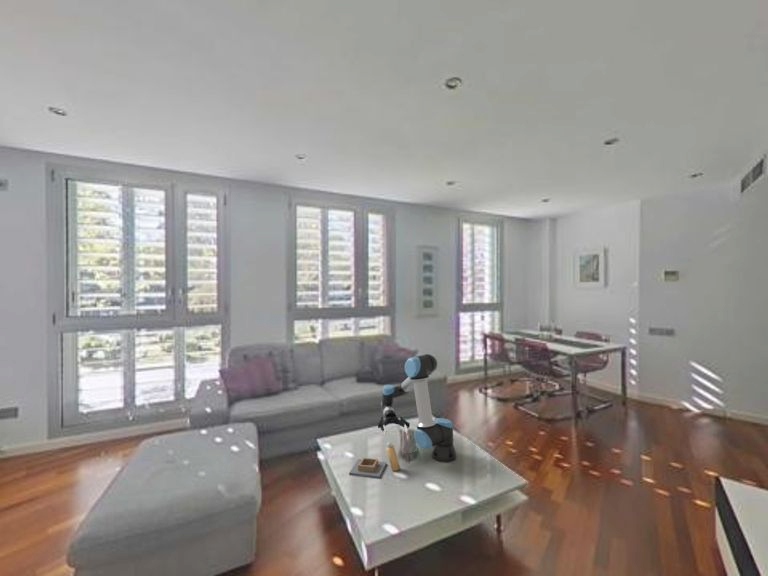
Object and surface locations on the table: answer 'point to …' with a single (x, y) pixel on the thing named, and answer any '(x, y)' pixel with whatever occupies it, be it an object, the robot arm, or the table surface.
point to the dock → (368, 468)
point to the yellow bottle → (392, 457)
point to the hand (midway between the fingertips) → (396, 432)
